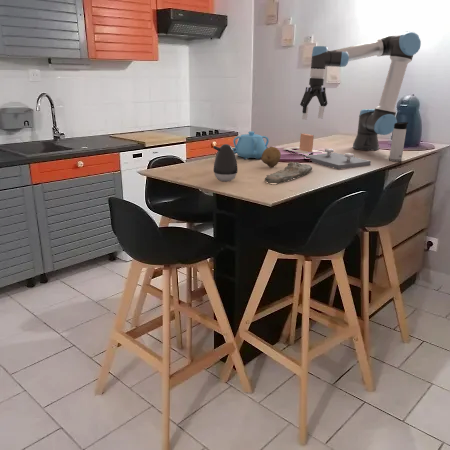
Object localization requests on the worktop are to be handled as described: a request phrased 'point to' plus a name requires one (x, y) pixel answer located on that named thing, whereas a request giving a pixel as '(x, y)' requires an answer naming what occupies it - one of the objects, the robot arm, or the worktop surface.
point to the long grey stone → (289, 172)
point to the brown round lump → (271, 156)
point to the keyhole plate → (305, 145)
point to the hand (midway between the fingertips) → (312, 118)
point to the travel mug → (398, 141)
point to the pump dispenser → (225, 163)
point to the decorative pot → (250, 145)
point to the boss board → (338, 160)
